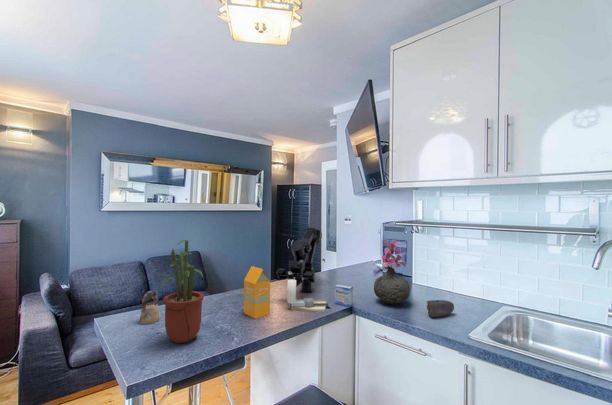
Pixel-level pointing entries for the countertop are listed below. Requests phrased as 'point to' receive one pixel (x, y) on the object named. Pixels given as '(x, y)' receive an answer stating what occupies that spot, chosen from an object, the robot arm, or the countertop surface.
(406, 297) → the vase
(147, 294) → the figurine
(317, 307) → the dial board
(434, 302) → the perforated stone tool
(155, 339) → the countertop surface
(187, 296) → the potted plant
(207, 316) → the countertop surface
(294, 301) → the crank handle
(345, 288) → the medicine box
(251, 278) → the orange juice
